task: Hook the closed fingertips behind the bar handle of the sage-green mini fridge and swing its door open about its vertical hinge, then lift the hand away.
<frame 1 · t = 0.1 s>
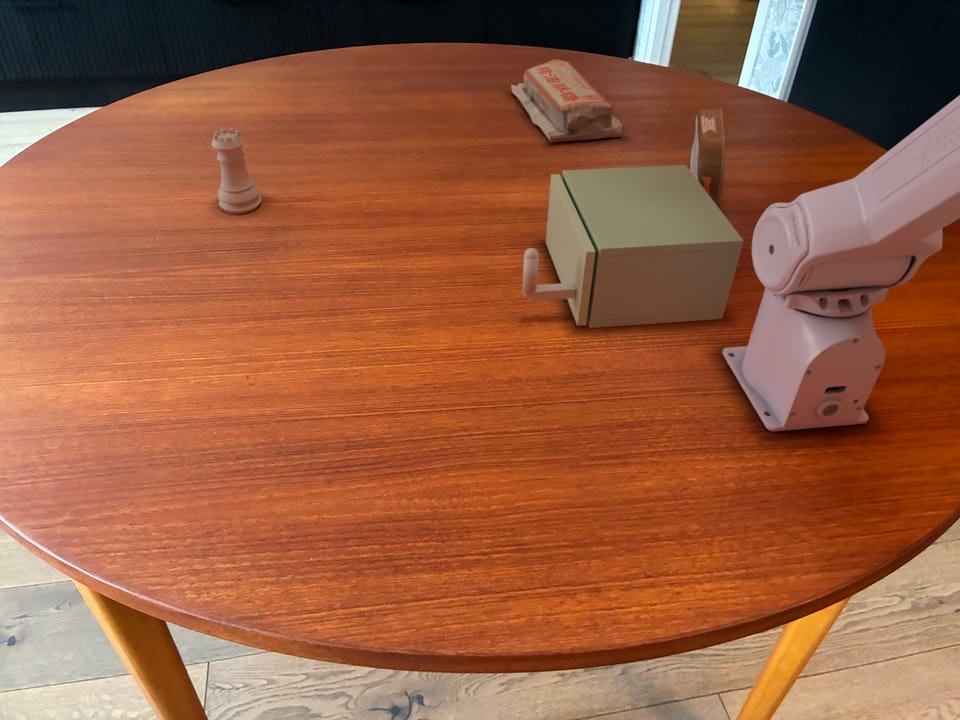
rook chess piece: (241, 206, 81), on the table
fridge: (633, 279, 71), on the table
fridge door: (542, 248, 68), point 4 cm above the table, hinge at 0.0°
packaged product: (563, 116, 102), on the table
tin: (697, 197, 85), on the table
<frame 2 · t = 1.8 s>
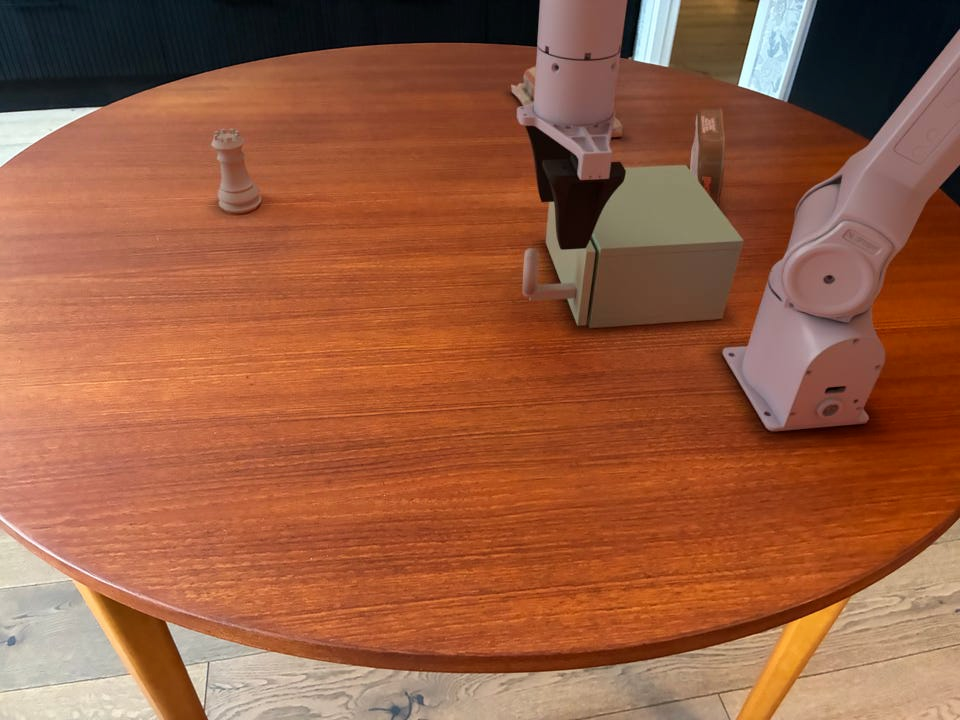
hand: (562, 222, 61), 9 cm above the table, tool pointing down, fingers open, 7 cm apart
nothing on the table moved.
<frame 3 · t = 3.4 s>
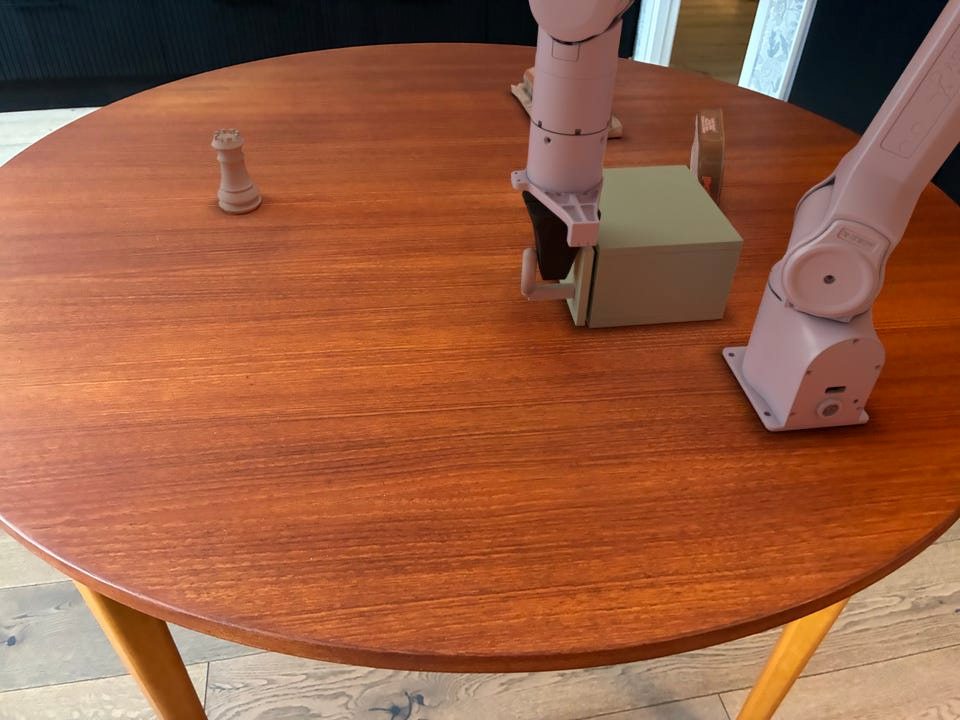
hand: (552, 275, 64), 4 cm above the table, tool pointing down, fingers closed, pressing on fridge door
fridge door: (542, 248, 68), point 4 cm above the table, hinge at 0.5°, touching gripper
everything else where it was.
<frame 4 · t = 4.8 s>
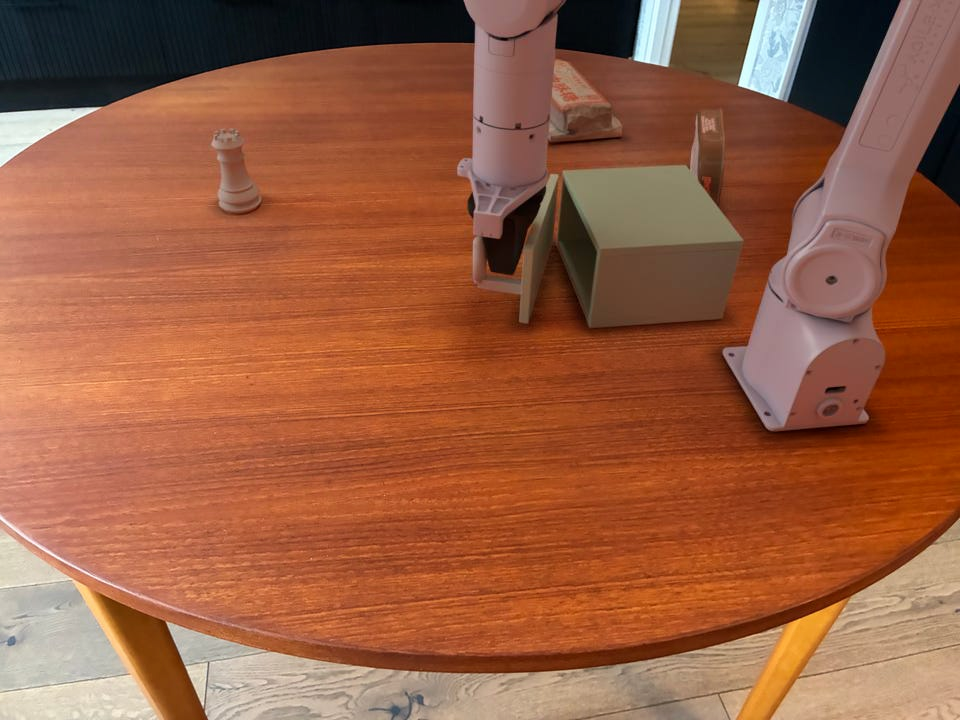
hand: (503, 268, 65), 4 cm above the table, tool pointing down, fingers closed, pressing on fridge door
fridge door: (514, 242, 69), point 4 cm above the table, hinge at 20.8°, touching gripper
everything else where it was.
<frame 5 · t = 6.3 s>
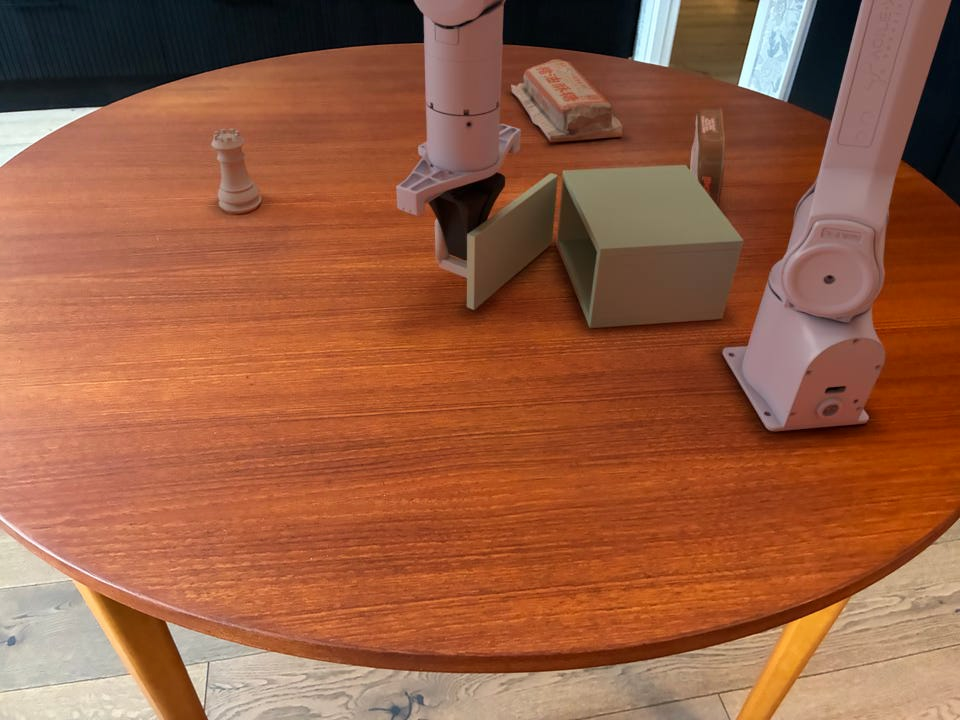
hand: (462, 253, 67), 4 cm above the table, tool pointing down, fingers closed, pressing on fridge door
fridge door: (492, 231, 70), point 4 cm above the table, hinge at 41.6°, touching gripper
everything else where it was.
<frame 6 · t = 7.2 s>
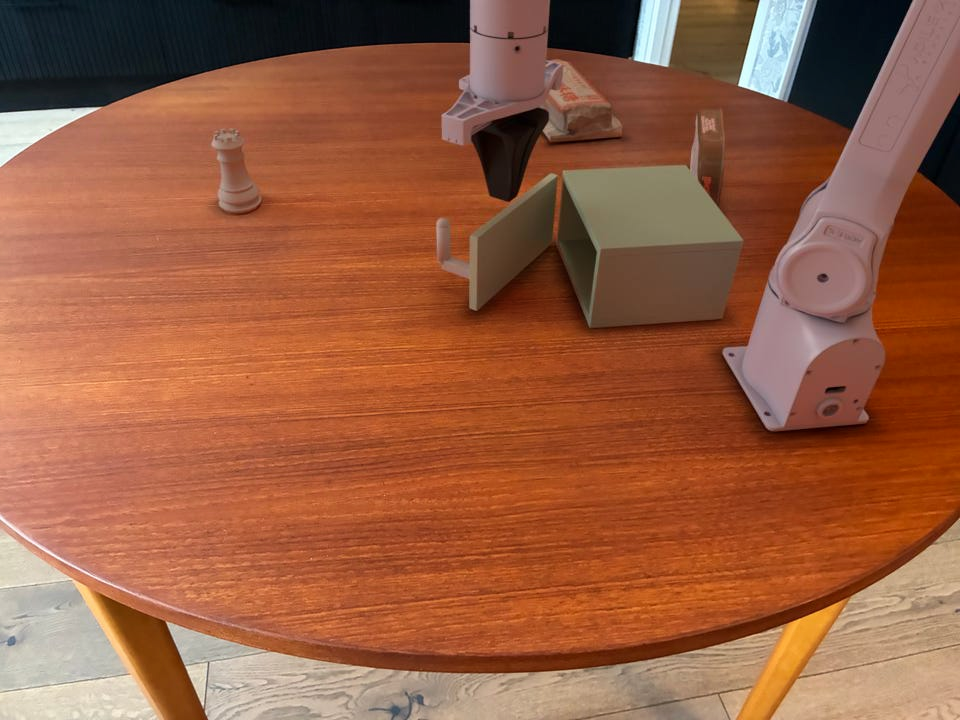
hand: (503, 196, 64), 9 cm above the table, tool pointing down, fingers closed
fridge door: (493, 232, 70), point 4 cm above the table, hinge at 40.5°
everything else where it was.
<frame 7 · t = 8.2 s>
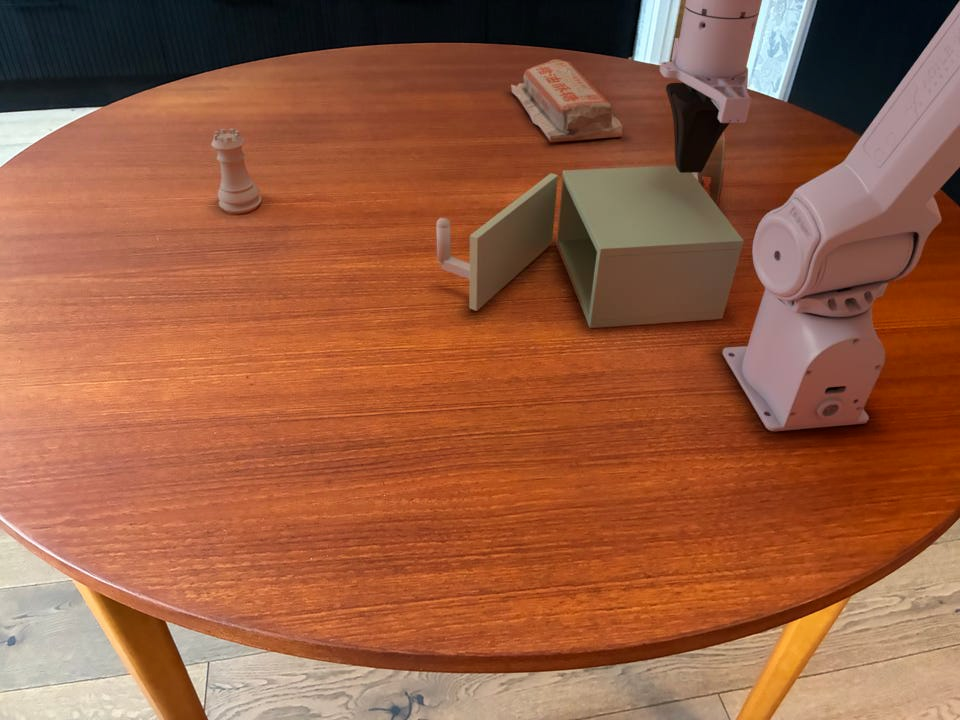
hand: (688, 169, 68), 9 cm above the table, tool pointing down, fingers closed
nothing on the table moved.
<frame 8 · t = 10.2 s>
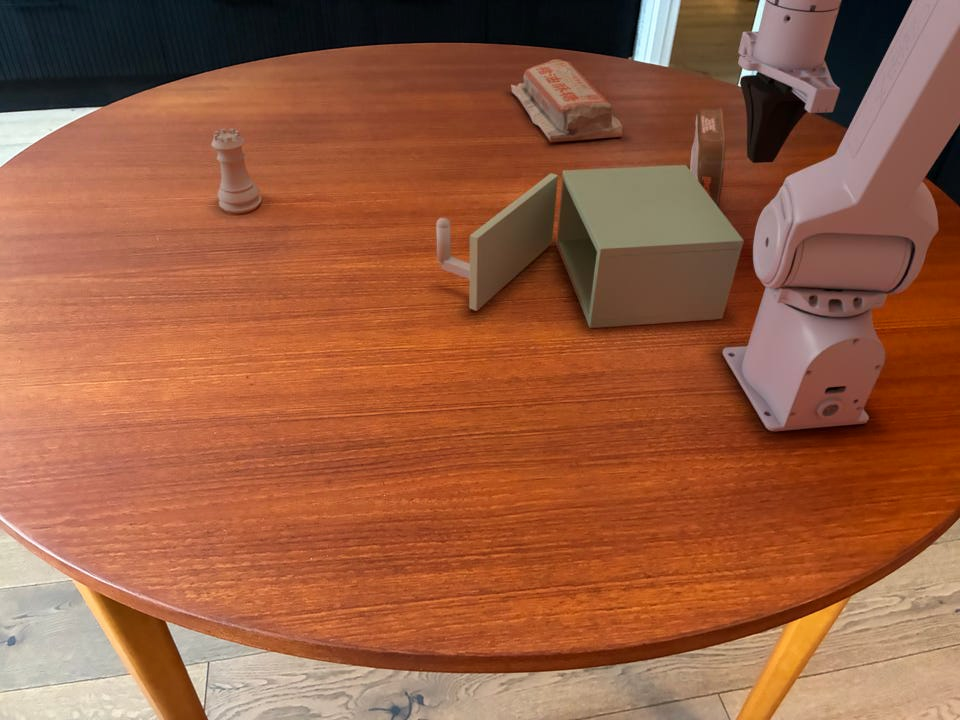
hand: (760, 159, 70), 9 cm above the table, tool pointing down, fingers closed
nothing on the table moved.
at the end: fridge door at +40° (first picture: +0°); tin moved 0.2 cm from its start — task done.
